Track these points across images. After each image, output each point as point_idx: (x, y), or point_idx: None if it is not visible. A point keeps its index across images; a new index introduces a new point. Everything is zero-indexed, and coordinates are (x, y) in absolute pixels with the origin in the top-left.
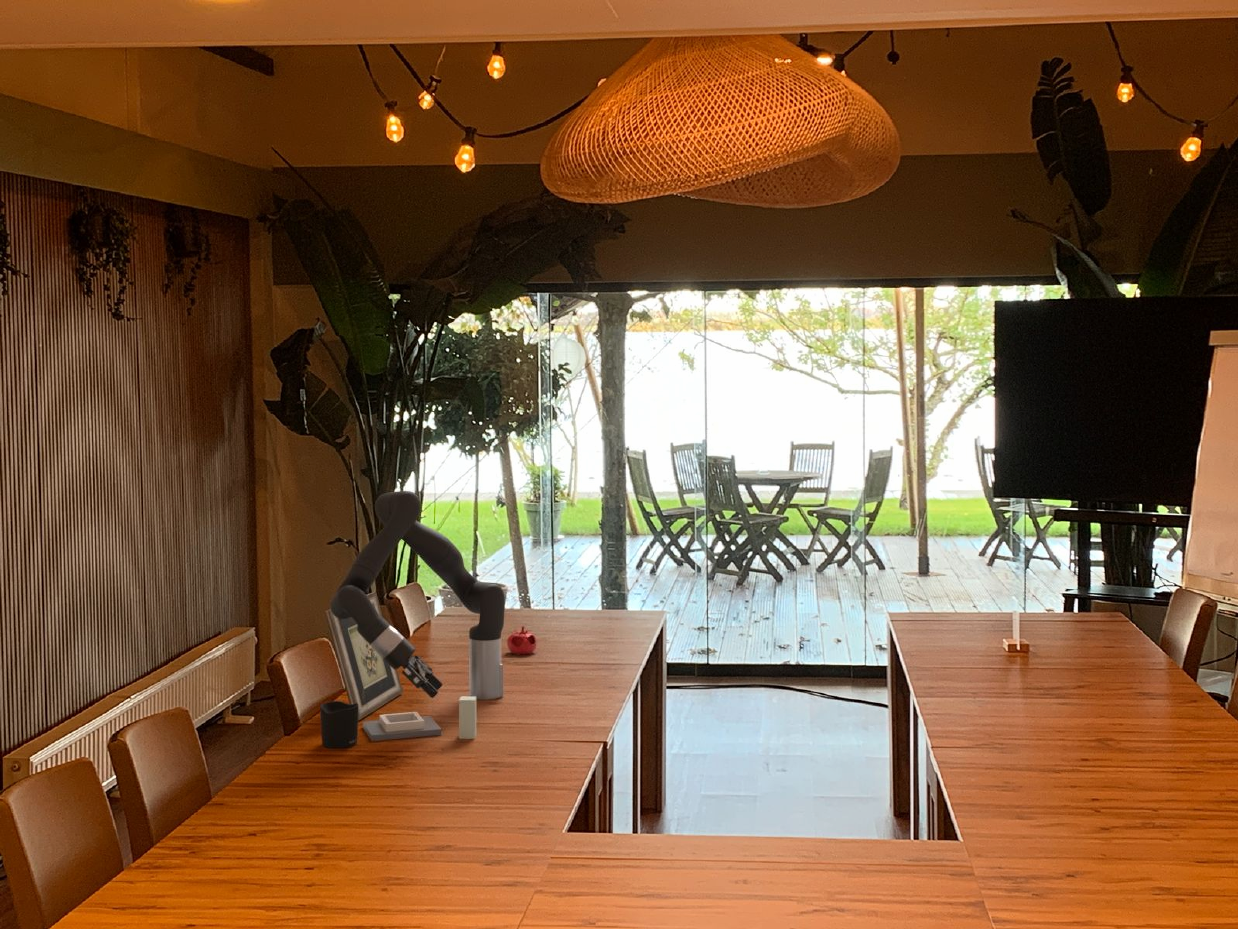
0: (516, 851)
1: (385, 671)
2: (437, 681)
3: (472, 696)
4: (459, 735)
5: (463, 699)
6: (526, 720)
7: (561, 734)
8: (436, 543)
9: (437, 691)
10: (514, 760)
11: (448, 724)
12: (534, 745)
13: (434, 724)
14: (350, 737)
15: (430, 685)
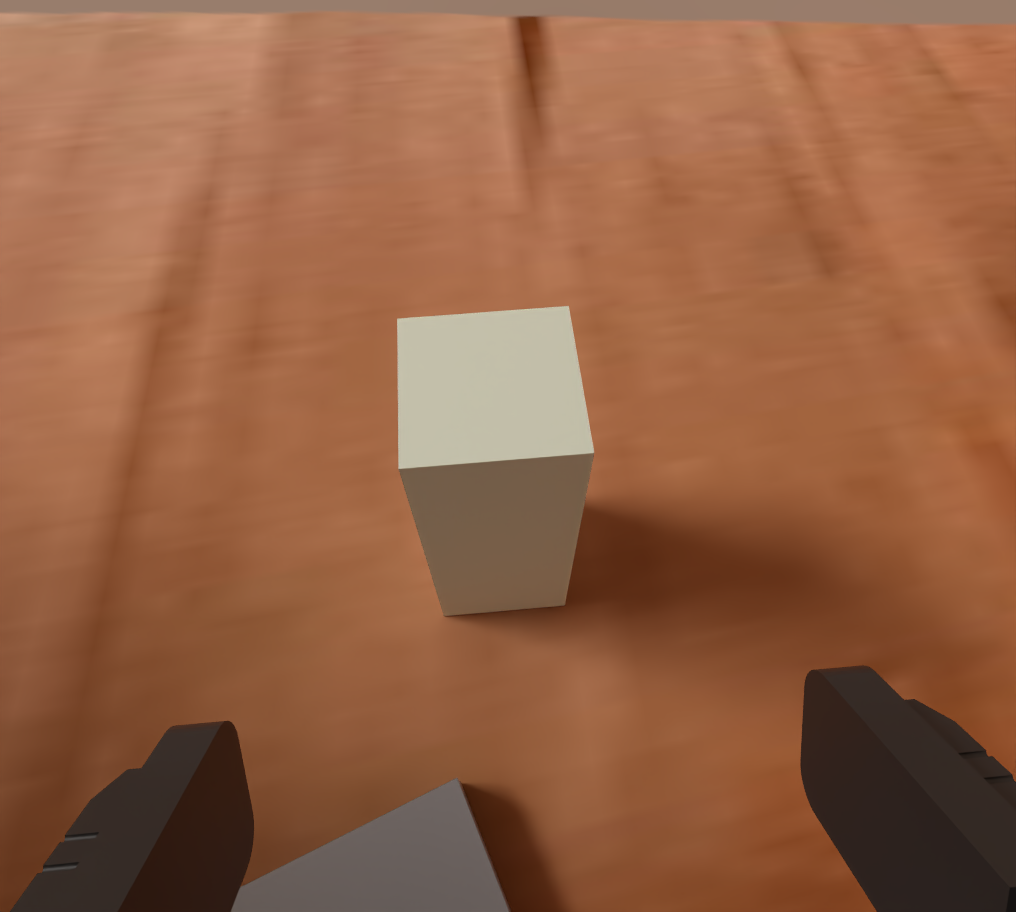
0: None
1: None
2: (188, 821)
3: (398, 352)
4: (566, 594)
5: (549, 414)
6: (105, 286)
7: (417, 125)
8: None
9: (852, 668)
10: (931, 237)
11: None
12: (633, 195)
13: (287, 898)
14: None
15: (1007, 804)
